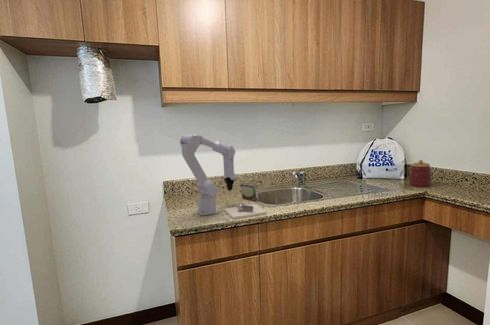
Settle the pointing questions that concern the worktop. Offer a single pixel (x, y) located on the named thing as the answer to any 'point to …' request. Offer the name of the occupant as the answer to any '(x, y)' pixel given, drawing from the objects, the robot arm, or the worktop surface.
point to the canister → (420, 174)
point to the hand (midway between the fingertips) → (229, 190)
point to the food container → (248, 191)
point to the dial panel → (244, 212)
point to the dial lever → (244, 207)
